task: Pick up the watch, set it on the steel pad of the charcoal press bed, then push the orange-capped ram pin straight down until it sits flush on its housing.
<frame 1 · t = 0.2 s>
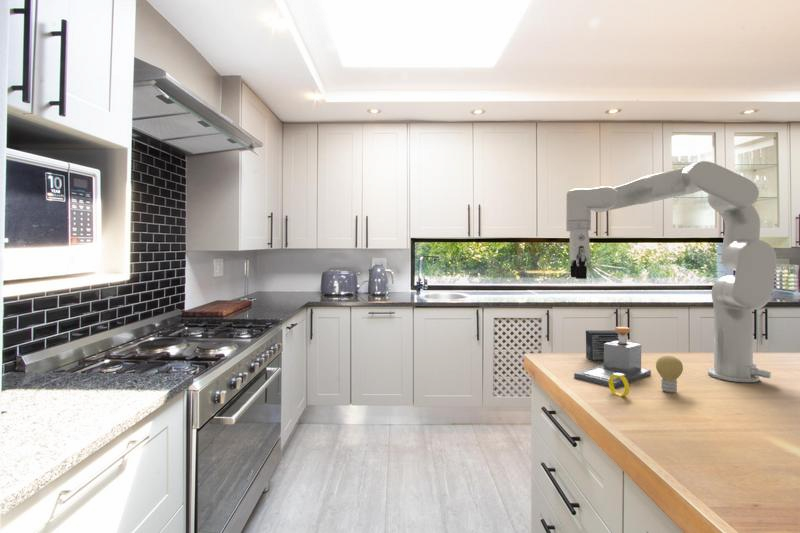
hand: (578, 277, 141), 31 cm above the countertop, tool pointing down, fingers open, 9 cm apart
small box: (603, 360, 155), on the countertop
light bulb: (669, 392, 119), on the countertop
press: (612, 376, 134), on the countertop
ram pin: (622, 339, 137), point 11 cm above the countertop, slide at 0.0 cm
watch: (618, 395, 116), on the countertop
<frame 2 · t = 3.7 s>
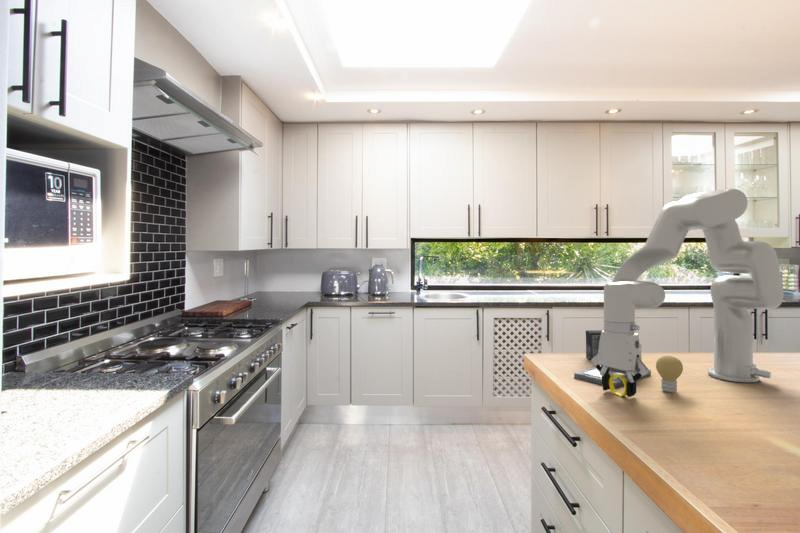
hand: (618, 391, 116), 1 cm above the countertop, tool pointing down, fingers closed on watch, 5 cm apart
watch: (618, 395, 116), on the countertop, touching gripper
everything else where it was.
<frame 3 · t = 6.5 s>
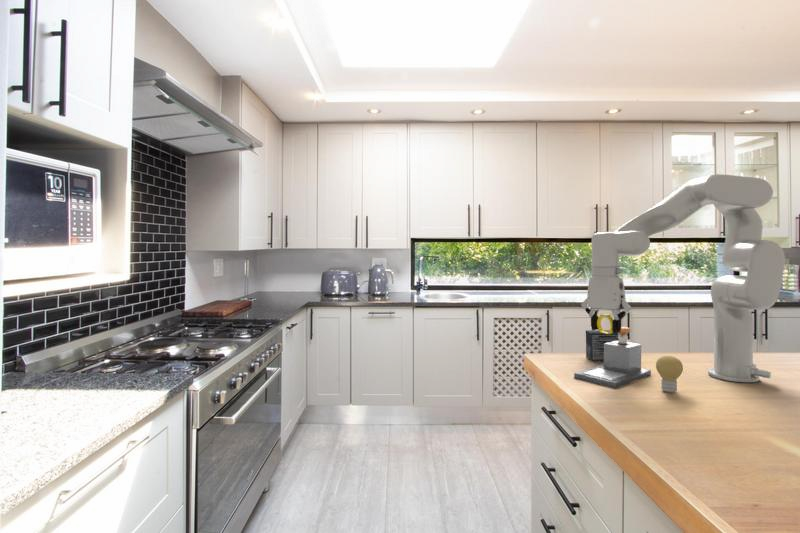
hand: (605, 330, 130), 15 cm above the countertop, tool pointing down, fingers closed on watch, 5 cm apart
watch: (605, 333, 130), point 14 cm above the countertop, touching gripper
everything else where it was.
when the fingers open (3 cm above the countertop, at t = 9.3 s): watch stays where it is, resting on press.
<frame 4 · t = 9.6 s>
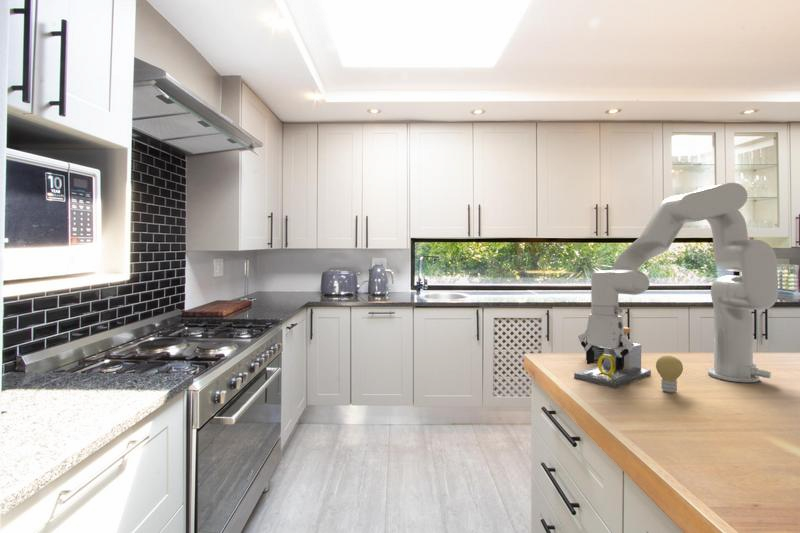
hand: (604, 366, 131), 4 cm above the countertop, tool pointing down, fingers open, 8 cm apart
watch: (605, 373, 131), point 2 cm above the countertop, touching press
everything else where it was.
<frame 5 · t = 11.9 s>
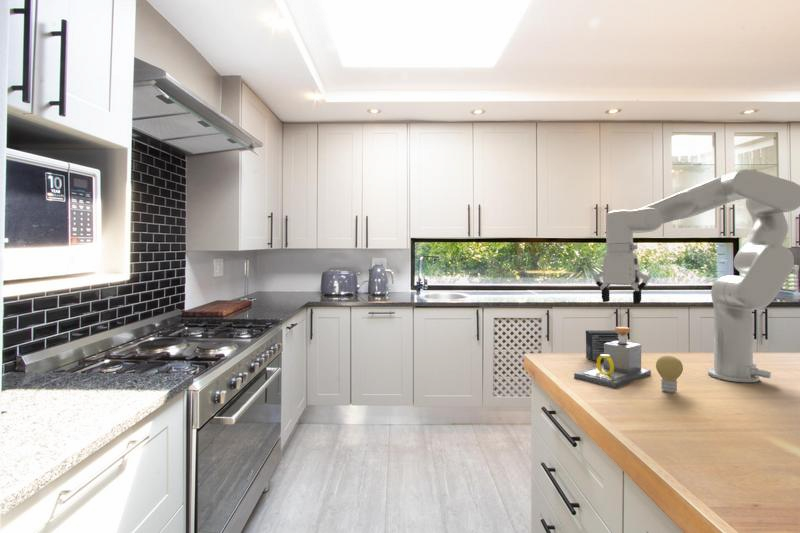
hand: (621, 302, 135), 23 cm above the countertop, tool pointing down, fingers open, 9 cm apart
nothing on the countertop moved.
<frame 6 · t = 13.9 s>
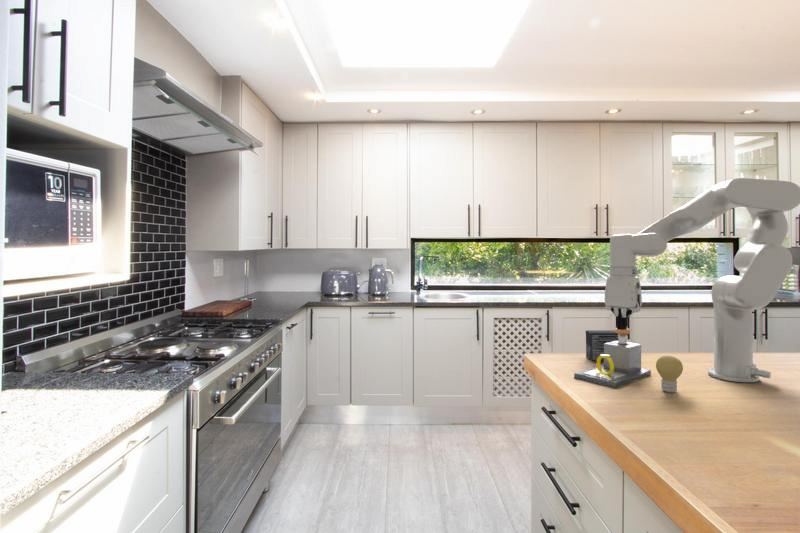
hand: (621, 328, 137), 14 cm above the countertop, tool pointing down, fingers closed
ram pin: (622, 340, 137), point 11 cm above the countertop, slide at 0.3 cm, touching gripper
everything else where it was.
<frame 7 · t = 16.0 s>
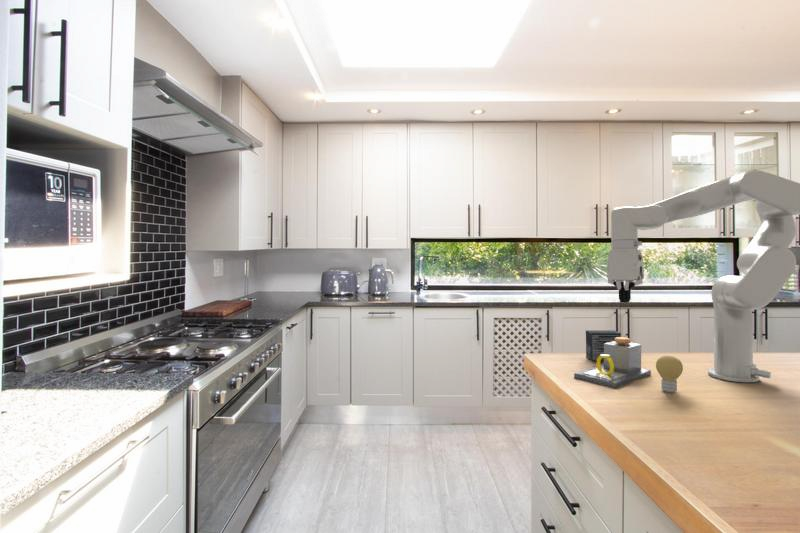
hand: (624, 302, 137), 23 cm above the countertop, tool pointing down, fingers closed
ram pin: (622, 350, 137), point 7 cm above the countertop, slide at 3.4 cm
everything else where it was.
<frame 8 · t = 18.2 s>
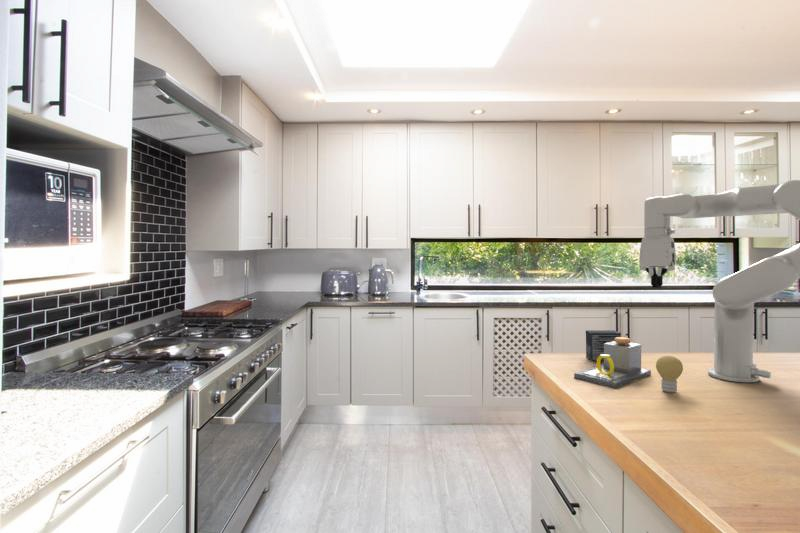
hand: (656, 287, 144), 27 cm above the countertop, tool pointing down, fingers closed
nothing on the countertop moved.
at the end: watch inside the target area on the press (0.1 cm from its centre), point 1.5 cm above the press's base; watch tilted 0°; ram pin slide at 3.4 cm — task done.
